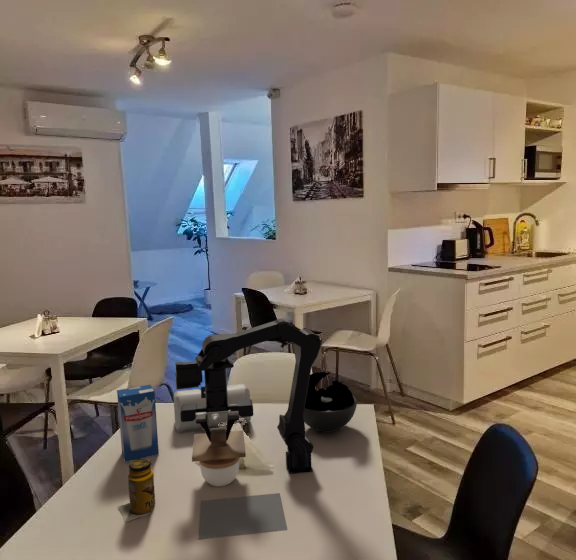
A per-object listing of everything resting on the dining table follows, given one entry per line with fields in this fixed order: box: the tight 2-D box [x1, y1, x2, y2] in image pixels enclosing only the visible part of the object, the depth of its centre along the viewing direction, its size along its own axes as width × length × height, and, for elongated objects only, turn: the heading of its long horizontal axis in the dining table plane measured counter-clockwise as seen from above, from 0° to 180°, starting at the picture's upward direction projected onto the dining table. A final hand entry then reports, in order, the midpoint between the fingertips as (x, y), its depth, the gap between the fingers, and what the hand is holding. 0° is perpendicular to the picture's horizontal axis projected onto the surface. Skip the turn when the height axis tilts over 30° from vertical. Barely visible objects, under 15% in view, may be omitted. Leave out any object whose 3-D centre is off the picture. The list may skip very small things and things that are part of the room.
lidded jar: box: [199, 458, 240, 487], centre depth 137 cm, size 11×11×9 cm
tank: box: [173, 383, 252, 433], centre depth 172 cm, size 25×16×12 cm, turn 105°
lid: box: [191, 426, 247, 463], centre depth 136 cm, size 14×14×4 cm
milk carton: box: [116, 384, 160, 463], centre depth 153 cm, size 10×6×20 cm, turn 115°
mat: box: [197, 492, 288, 540], centre depth 123 cm, size 20×15×1 cm
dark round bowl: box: [303, 371, 358, 433], centre depth 167 cm, size 20×20×19 cm
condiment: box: [117, 458, 156, 523], centre depth 126 cm, size 7×8×12 cm
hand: (218, 440), depth 136 cm, fingers closed on lid, 4 cm apart
